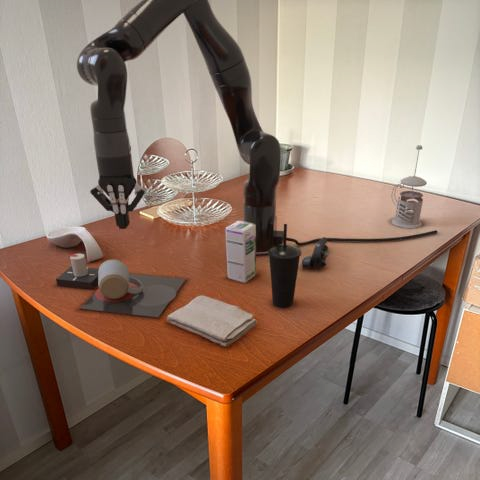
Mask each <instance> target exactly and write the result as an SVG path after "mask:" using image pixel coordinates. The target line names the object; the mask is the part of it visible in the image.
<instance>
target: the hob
mask: <svg viewBox="0 0 480 480" xmlns="http://www.w3.org/2000/svg"><path fill="white" fill-rule="evenodd" d="M129 276H131V277H133V278H135V279H137V280H139V281H140V282H141V283H142V284H143V289H142V292H141V293H139V294H132V293H128V292H127V293H126V294H125V295H124V296H123V297H121V298H119V299H109V298H107V297H105V296H104V295H103V294H102V293H101V292H100V289H99V287H98V288H97V289H96V290H95V292H94V294H93V295H92V296H90V297H89V298H88V300H86V302H84V303H83V304H82V305H81V306H80V307H79V310H81V311H91V312H99V313H107V314H108V313H109V314H117V315H125V316H132V317H133V316H134V317H143V318H151V319H159V318H160V317H161V315H162V314H163V312H164V311H165V310H166V308H168V305H169V304H170V303H171V302H172V301H173V300H174V299H175V298H176V296H177V293H178V292H179V291H180V289H181V288H182V286H183V285H184V284H185V282H187V281H186V280H187V279H186V278H178V277H169V276H168V277H167V276H159V275H158V276H156V275H148V274H147V275H146V274H136V273H129ZM129 287H131V288H135V289H139V287H138V286H137V285H135V284H133V283H131V282H129Z"/></svg>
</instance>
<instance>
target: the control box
mask: <svg viewBox="0 0 480 480" xmlns="http://www.w3.org/2000/svg"><path fill="white" fill-rule="evenodd" d="M98 270H99V268H96V267H89V266H87V271H88V274H87V275H85V276H82V277H76V276H74V273H73V268H72V265H71V266H69V267H68V268H67V269H66V270H65V271H64V272H62V273H61V274H60V275H58V276H57V277H56V278H55V282H56V285H57V286H58V287H67V288H76V289H85V290H94V289H95V288H96V286H97V285H98Z"/></svg>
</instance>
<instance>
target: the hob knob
mask: <svg viewBox="0 0 480 480" xmlns="http://www.w3.org/2000/svg"><path fill="white" fill-rule="evenodd" d="M69 259H70V263H71V266H72V268H73V273H74V276H76V277H82V276H85V275H87V274H88V271H87V267H88V266H87V260H86V255H85V254H84V253H74V254H73V253H72V254H70V256H69Z"/></svg>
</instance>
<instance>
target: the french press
mask: <svg viewBox="0 0 480 480" xmlns="http://www.w3.org/2000/svg"><path fill="white" fill-rule="evenodd" d="M415 150H418V152H417V157H416V158H417V159H416V163H415V169H414V175H410V176H409V175H408V176H406V177H403V178H402V179H400V183H397V184H395V185H394V187H393V188H392V190H391V201H392V203H393V204H394V206H396V211H395V217H394V218H393V219H392V220H391V224H392V225H394V226H396V227H399V228H404V229H417V228H420V227H421V226H423V224H422V221H421V219H420V218H421V213H422V207H423V203H424V198H423V197H424V194H423V193H422V192H419V191H414V190H413V189H414V187H417V188H420V187H425V186H426V185H427V184H428V182H427V181H426V180H425V179H424V178H422V177H419V176H417V175H416V173H417V166H418V161H419V155H420V150H423V145H421V144H418V145H417V146H416V147H415ZM404 186H408V187H411V190H404V191H401V192H399V195H400V196H398V198H396V191H397V188H398V187H399V188H400V189H402V188H404ZM393 193H394V194H393ZM393 195H394V199H393ZM394 200H395V202H394Z"/></svg>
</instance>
